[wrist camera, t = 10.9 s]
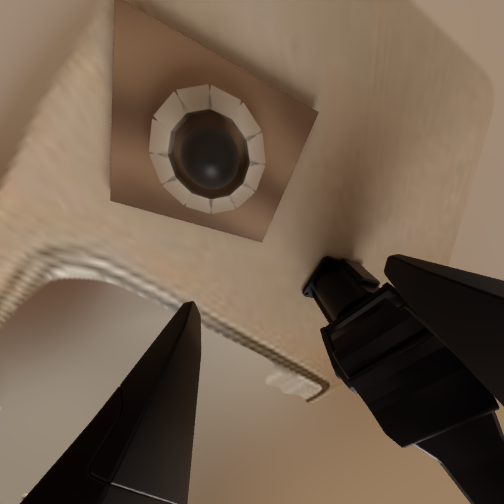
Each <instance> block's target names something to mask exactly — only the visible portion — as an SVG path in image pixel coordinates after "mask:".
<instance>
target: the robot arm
mask: <svg viewBox="0 0 504 504" xmlns="http://www.w3.org/2000/svg"><path fill="white" fill-rule="evenodd" d="M327 260H328V261H327ZM384 273H385V275H386V277H387V278H388V279H389V280H390V282H391V283H392V284H393V286H394V287H395V288H394V287H393V286H392V285H390V284H389V283H388V282H386V283H385V284H384V285H382V286H383V287H381V288H379V287H378V286H379V285H380V282H379V281H378V280H377V279H376V278H375V277H374V276H372V275H371V274H370V273H369V272H368V271H367V270H366V269H365V268H364V267H363V266H361V265H360V264H359V263H357V262H353V261H350V260H347V259H341V260H340V259H336V258H333V257H329V256H326V257H324V258H323V260H322V261H321V263H320V265H319V266H318V268H317V269H316V271H315V272H314V274H313V276H312V277H311V279H310V280H309V282H308V284H307V285H306V287H305V288H304V290H303V292H302V293H303V295H304V296H306V297H311V298H314V300H315V301H316V303H317V304H318V306H319V308H320V309H321V311H322V313H323V314H324V316H325V318H326V319H327V321H328V323H329V324H328V325H327V326H326V327H323V328H321V329H320V331H321V334H322V339H323V341H324V344H325V347H326V350H327V353H328V355H329V358H330V361H331V364H332V367H333V369H334V371H335V374H336V376H337V377H338V378H339V379H342V380H343V382H344V383H345V384H346V385H347V386H348V388H349V389H350V390H352V391H353V392H354V393H356V394H359V395H360V396H361V398H362V399H363V401H364V402H365V403H366V405H367V406H368V408H369V409H370V411H371V412H372V414H373V415H374V417H375V418H376V420H377V421H378V423H379V425H380V426H381V427H382V429H383V431H384V432H385V434H386V435H388V436H389V437H390V438H391V439H392V440H393V441H395V442H396V443H397V444H398V445H400V446H401V447H402V448H406V447H409V446H411V445H414V446H416V447H417V448H419V449H420V450H422V451H423V452H425V453H426V454H428V455H429V456H431V457H432V458H434V459H435V460H437V461H438V462H439V463H440V464H441V466H442V467H443V468H444V469H445V471H446V472H447V473H448V474H449V476H450V477H451V478H452V480H453V481H454V482H455V484H456V485H457V486H458V487H459V489H460V490H461V491H462V493H463V494H464V495H465V497H466V498H467V499H468V500H469V502H470V503H471V504H504V435H503V432H502V429H501V427H500V424H499V421H498V419H497V416H496V413H495V411H496V410H498V409H499V405H498V403H497V402H496V399H497V400H498V401H499V402H500V403H501V404H502V405H503V406H504V281H502V280H499V279H495V278H491V277H487V276H483V275H479V274H475V273H471V272H467V271H463V270H459V269H455V268H451V267H448V266H444V265H440V264H436V263H432V262H428V261H424V260H420V259H416V258H412V257H408V256H404V255H400V254H396V255H392V256H389V257H388V258H387V261H386V265H385V269H384ZM200 361H201V317H200V313H199V311H198V308H197V306H196V304H195V302H194V301H190V302H186V303H184V304H183V305H182V306H181V307H180V308H179V310H178V311H177V312H176V314H175V315H174V316H173V318H172V319H171V320H170V321H169V323H168V324H167V325H166V326H165V328H164V329H163V330H162V332H161V333H160V334H159V336H158V337H157V338H156V340H155V341H154V342H153V343H152V344H151V346H150V347H149V348H148V350H147V351H146V352H145V353H144V355H143V356H142V358H141V359H140V360H139V361H138V363H137V364H136V365H135V366H134V368H133V369H132V370H131V372H130V373H129V374H128V375H127V377H126V378H125V379H124V381H123V382H122V383H121V385H120V387H118V388H117V389H116V391H115V392H114V393H113V394H112V396H111V397H110V398H109V400H108V401H107V402H106V403H105V405H104V406H103V407H102V409H101V410H100V411H99V412H98V413H97V415H96V416H95V417H94V418H93V420H92V421H91V422H90V423H89V424H88V426H87V427H86V428H85V429H84V430H83V431H82V433H81V434H80V435H79V436H78V437H77V438H76V440H75V441H74V442H73V443H72V444H71V445H70V447H69V448H68V449H67V450H66V451H65V452H64V453H63V455H62V456H61V457H60V458H59V459H58V460H57V462H56V463H55V464H54V465H53V466H52V467H51V468H50V470H49V471H48V472H47V473H46V474H45V475H44V476H43V478H42V479H41V480H40V481H39V483H38V484H37V485H36V486H35V487H34V488H33V489H32V490H31V491H30V492H29V494H28V495H27V496H26V497H25V498H24V499H23V501H22V502H21V503H20V504H187V501H188V491H189V480H190V469H191V458H192V447H193V436H194V426H195V415H196V404H197V394H198V383H199V371H200ZM495 398H496V399H495Z"/></svg>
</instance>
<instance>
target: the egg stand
mask: <svg viewBox="0 0 504 504" xmlns="http://www.w3.org/2000/svg"><path fill="white" fill-rule="evenodd" d="M318 113H319V112H318V111H316V110H314V109H312V108H311V107H309V106H307V105H305V104H304V103H302V102H300V101H298V100H297V99H295V98H293V97H291V96H290V95H288V94H286V93H284V92H282V91H281V90H279V89H277V88H275V87H274V86H272V85H270V84H268V83H267V82H265V81H263V80H261V79H260V78H258V77H256V76H254V75H253V74H251V73H249V72H247V71H246V70H244V69H242V68H240V67H238V66H237V65H235V64H233V63H231V62H230V61H228V60H226V59H224V58H223V57H221V56H219V55H217V54H216V53H214V52H212V51H210V50H209V49H207V48H205V47H203V46H202V45H200V44H198V43H196V42H194V41H193V40H191V39H189V38H187V37H186V36H184V35H182V34H180V33H179V32H177V31H175V30H173V29H172V28H170V27H168V26H166V25H165V24H163V23H161V22H159V21H158V20H156V19H154V18H152V17H151V16H149V15H147V14H145V13H143V12H142V11H140V10H138V9H136V8H135V7H133V6H131V5H129V4H128V3H126V2H124V1H122V0H114V49H113V98H112V148H111V197H110V201H114V202H117V203H121V204H125V205H128V206H132V207H136V208H139V209H143V210H146V211H150V212H154V213H157V214H161V215H165V216H168V217H172V218H175V219H179V220H183V221H186V222H190V223H194V224H197V225H201V226H204V227H208V228H212V229H215V230H219V231H223V232H226V233H230V234H233V235H237V236H241V237H244V238H248V239H252V240H255V241H259V242H262V241H263V239H264V236H265V234H266V232H267V229H268V227H269V225H270V223H271V220H272V218H273V216H274V213H275V211H276V209H277V207H278V204H279V202H280V200H281V197H282V195H283V193H284V191H285V188H286V186H287V184H288V181H289V179H290V177H291V175H292V172H293V170H294V168H295V165H296V163H297V161H298V158H299V156H300V154H301V152H302V149H303V147H304V145H305V142H306V140H307V138H308V136H309V133H310V131H311V129H312V126H313V124H314V122H315V120H316V117H317V115H318ZM200 125H214V126H217V127H219V128H221V129H223V130H224V131H226V132H227V133H228V134H229V135H230V136H231V137H232V139H233V140H234V142H235V144H236V146H237V149H238V153H239V167H238V171H237V174H236V176H235V177H234V179H233V180H232V181H231V182H230V183H229V184H228V185H226V186H224V187H222V188H219V189H206V188H203V187H201V186H199V185H197V184H195V183H194V182H193V181H192V180H191V179H190V178H189V177H188V176H187V174H186V172H185V171H184V169H183V166H182V163H181V157H180V150H181V145H182V142H183V140H184V138H185V136H186V135H187V133H188V132H189V131H191V130H192V129H193V128H195V127H197V126H200Z"/></svg>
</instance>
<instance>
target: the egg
mask: <svg viewBox="0 0 504 504" xmlns="http://www.w3.org/2000/svg"><path fill="white" fill-rule="evenodd" d="M180 157H181V163H182V166H183V169H184V171H185V172H186V174H187V176H188V177H189V178H190V179H191V180H192V181H193V182H194V183H195V184H197V185H199V186H201V187H203V188H206V189H219V188H222V187H224V186H226V185H228V184H229V183H230V182H231V181H232V180H233V179H234V177H235V176H236V174H237V171H238V167H239V153H238V149H237V146H236V144H235V142H234V140H233V139H232V137H231V136H230V135H229V134H228V133H227V132H226V131H224V130H223V129H221V128H219V127H217V126H214V125H200V126H197V127H195V128H193V129H192V130H191V131H189V132H188V133H187V135H186V136H185V138H184V140H183V142H182V145H181V150H180Z"/></svg>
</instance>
